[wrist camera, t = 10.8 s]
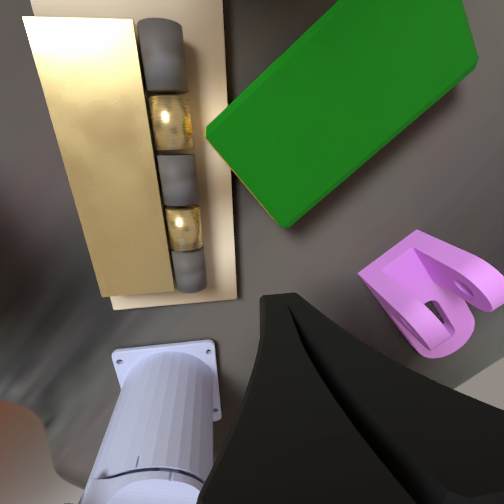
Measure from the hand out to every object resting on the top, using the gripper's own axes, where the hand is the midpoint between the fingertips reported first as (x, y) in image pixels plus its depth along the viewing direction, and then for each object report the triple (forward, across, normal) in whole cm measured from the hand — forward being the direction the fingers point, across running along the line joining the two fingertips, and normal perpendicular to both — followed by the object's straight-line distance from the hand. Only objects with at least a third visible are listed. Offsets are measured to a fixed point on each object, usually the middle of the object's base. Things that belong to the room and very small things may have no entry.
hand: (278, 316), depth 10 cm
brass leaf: (+9, +6, -4) cm, 12 cm away
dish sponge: (+10, -5, -8) cm, 14 cm away
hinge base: (+10, +5, -4) cm, 12 cm away
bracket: (+10, -15, +8) cm, 20 cm away
